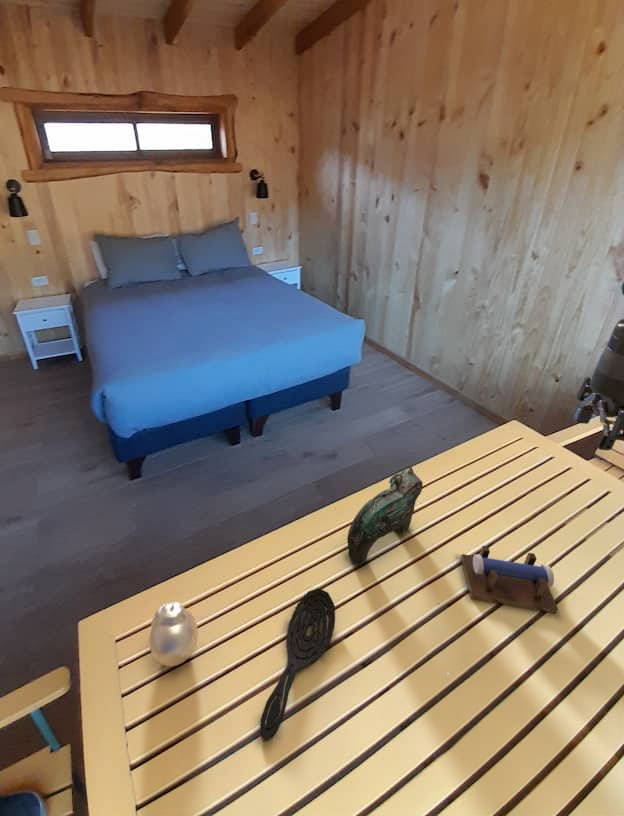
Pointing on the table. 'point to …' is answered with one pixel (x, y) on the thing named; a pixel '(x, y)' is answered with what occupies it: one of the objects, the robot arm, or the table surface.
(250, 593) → the table surface
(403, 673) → the table surface
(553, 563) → the table surface
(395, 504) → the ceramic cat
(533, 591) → the holder
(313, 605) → the hairbrush
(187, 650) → the silver rounded egg shape
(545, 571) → the handle
